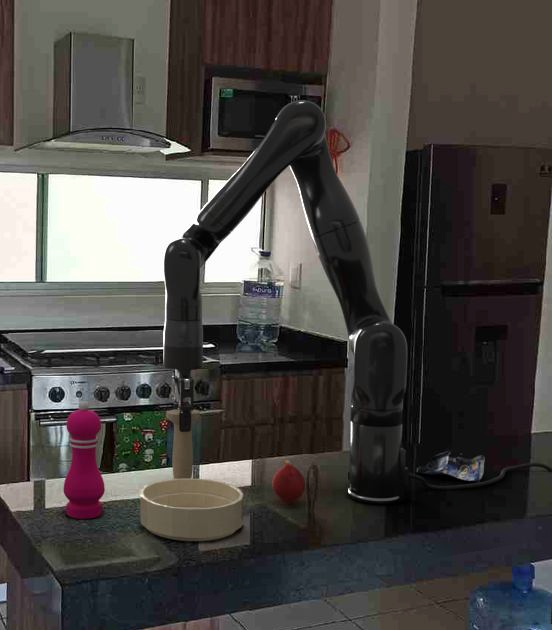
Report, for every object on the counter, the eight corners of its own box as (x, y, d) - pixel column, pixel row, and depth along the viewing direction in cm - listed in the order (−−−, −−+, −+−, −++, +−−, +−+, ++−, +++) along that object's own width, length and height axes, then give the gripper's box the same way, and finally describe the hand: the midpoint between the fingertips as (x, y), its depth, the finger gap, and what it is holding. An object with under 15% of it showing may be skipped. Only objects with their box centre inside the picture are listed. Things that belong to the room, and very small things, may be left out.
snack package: (442, 487, 161) (494, 481, 163) (438, 454, 161) (491, 449, 164) (408, 481, 172) (457, 475, 175) (405, 450, 173) (454, 445, 176)
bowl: (232, 507, 148) (233, 477, 148) (252, 541, 131) (252, 508, 131) (137, 509, 147) (137, 479, 147) (143, 544, 130) (143, 510, 130)
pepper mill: (73, 522, 140) (72, 406, 139) (57, 510, 147) (56, 399, 145) (111, 516, 144) (111, 402, 142) (94, 504, 150) (93, 395, 148)
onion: (306, 501, 152) (307, 458, 151) (302, 510, 147) (303, 466, 146) (274, 498, 154) (275, 455, 153) (269, 507, 148) (270, 463, 148)
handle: (202, 490, 159) (203, 413, 157) (170, 493, 157) (171, 415, 156) (193, 483, 163) (194, 408, 162) (162, 486, 162) (163, 410, 160)
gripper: (208, 347, 151) (207, 435, 152) (197, 338, 165) (196, 418, 166) (167, 347, 150) (166, 435, 152) (160, 338, 165) (159, 419, 166)
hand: (182, 426), depth 159 cm, fingers open, 8 cm apart
